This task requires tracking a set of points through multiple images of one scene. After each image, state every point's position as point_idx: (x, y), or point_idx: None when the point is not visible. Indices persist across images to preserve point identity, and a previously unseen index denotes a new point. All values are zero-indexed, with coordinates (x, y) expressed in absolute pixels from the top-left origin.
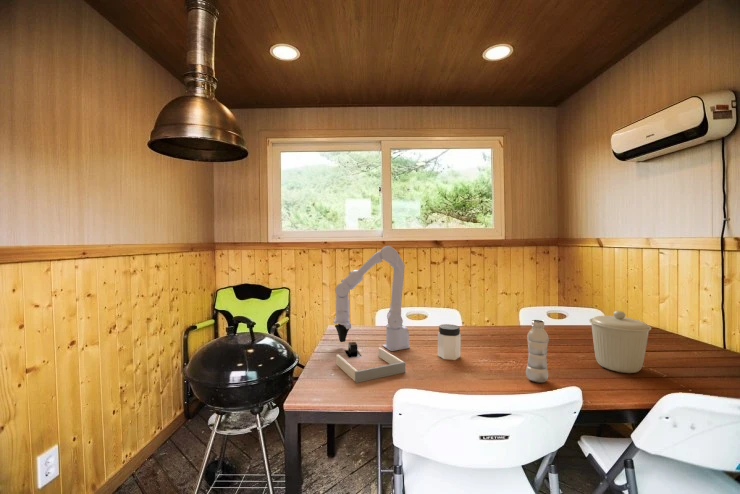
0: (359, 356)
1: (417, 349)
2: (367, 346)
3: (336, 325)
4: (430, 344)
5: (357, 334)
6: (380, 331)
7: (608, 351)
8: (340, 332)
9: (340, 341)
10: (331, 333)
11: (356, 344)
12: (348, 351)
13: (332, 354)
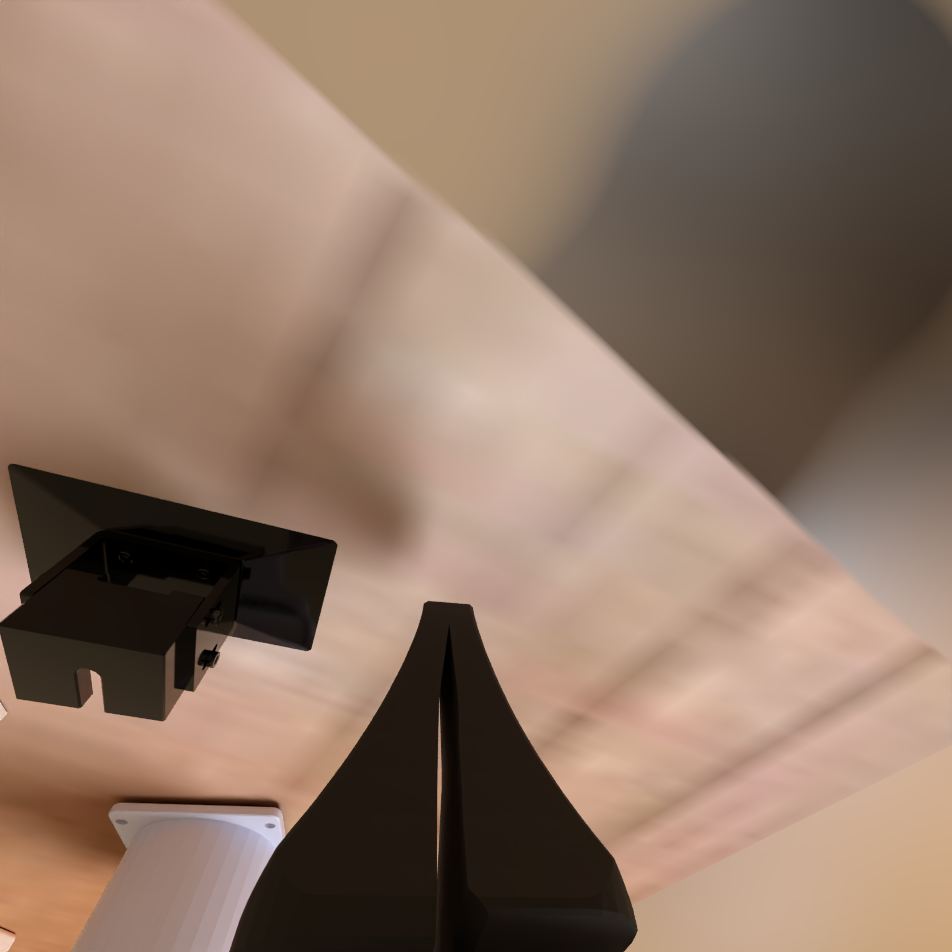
0: (33, 576)
1: None
2: (330, 736)
3: (573, 934)
4: None
5: (685, 792)
6: None
7: None
8: (346, 761)
9: (435, 606)
10: (940, 666)
11: (18, 693)
12: (217, 552)
13: (211, 331)
